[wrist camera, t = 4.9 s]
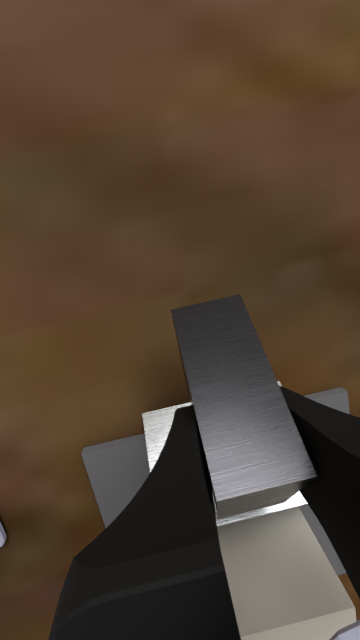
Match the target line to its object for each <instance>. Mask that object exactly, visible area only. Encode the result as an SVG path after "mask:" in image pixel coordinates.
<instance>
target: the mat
mask: <svg viewBox="0 0 360 640" xmlns="http://www.w3.org/2000/svg"><path fill="white" fill-rule="evenodd" d="M304 397H306V398H309V399H311V400H313V401H316V402H318V403H320V404H323V405H325V406H328V407H330V408H333V409H336V410H338V411H341V412H344V413H347V414H349V402H348V391H347V390H345V389H344V388H343V387H339V388H335V389H331V390H326V391H322V392H318V393H314V394H309V395H305V396H304ZM81 455H82V458H83V461H84V464H85V467H86V470H87V473H88V476H89V479H90V482H91V485H92V488H93V491H94V494H95V497H96V500H97V503H98V506H99V509H100V513H101V516H102V519H103V522H104V525H105V528H107V527H108V526H109V525H110V524H111V523H112V522H113V521H114V520H115V519H116V517H117V516H118V515H119V514H120V513H121V512H122V511H123V510H124V508H125V507H126V506H127V505H128V504H129V503H130V501H131V500H132V499H133V497H134V496H135V495H136V493H137V492H138V491H139V489H140V488H141V486H142V485H143V483H144V482H145V480H146V479H147V477H148V475H149V474H150V468H149V461H148V453H147V446H146V438H145V433H143V434H139V435H135V436H131V437H126V438H122V439H118V440H114V441H109V442H105V443H101V444H97V445H92V446H88V447H84V448H83V450H82V453H81ZM299 508H300V510H301V512H302V514H303V515H304V517H305V519H306V521H307V523H308V524H309V526H310V528H311V530H312V531H313V533H314V535H315V537H316V539H317V540H318V542H319V544H320V546H321V548H322V549H323V551H324V553H325V555H326V556H327V558H328V560H329V562H330V564H331V565H332V567H333V569H334V571H335V573H336V574H337V575H341V574H345V573H346V571H345V569H344V567H343V565H342V563H341V561H340V559H339V557H338V555H337V553H336V552H335V550H334V548H333V546H332V544H331V542H330V540H329V538H328V536H327V535H326V533H325V531H324V529H323V527H322V526H321V524H320V522H319V521H318V519H317V517H316V516H315V514H314V513H313V511H312V510H311V508H310V507H309V505H307V506H303V507H299Z"/></svg>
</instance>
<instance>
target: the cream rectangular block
mask: <svg viewBox="0 0 360 640" xmlns="http://www.w3.org/2000/svg"><path fill="white" fill-rule="evenodd" d="M217 529H218V536H219V543H220V549H221V554H222V558H223V562H224V567H225V571H226V576H227V580H228V585H229V589H230V593H231V598H232V602H233V607H234V611H235V616H236V620H237V624H238V629H239V633H240V638H241V640H330V639H331V637H332V636H333V635H334V634H335V633H336V632H337V631H338V630H340V629H342V628H344V627H346V626H348V625H350V624H352V623H354V622H356V613H355V606H354V605H353V603H352V601H351V599H350V597H349V596H348V594H347V592H346V590H345V589H344V587H343V585H342V583H341V581H340V580H339V578H338V576H337V574H336V573H335V571H334V569H333V567H332V565H331V564H330V562H329V560H328V558H327V556H326V555H325V553H324V551H323V549H322V548H321V546H320V544H319V542H318V540H317V539H316V537H315V535H314V533H313V531H312V530H311V528H310V526H309V524H308V523H307V521H306V519H305V517H304V515H303V514H302V512H301V510H300V508H295V509H291V510H287V511H283V512H279V513H275V514H271V515H267V516H263V517H259V518H255V519H251V520H247V521H243V522H239V523H235V524H231V525H227V526H223V527H219V528H217Z"/></svg>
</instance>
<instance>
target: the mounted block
mask: <svg viewBox="0 0 360 640" xmlns="http://www.w3.org/2000/svg"><path fill="white" fill-rule="evenodd" d="M171 313H172V318H173V322H174V327H175V332H176V337H177V342H178V347H179V352H180V357H181V361H182V366H183V371H184V376H185V380H186V384H187V389H188V393H189V397H190V402H189V403H184V404H180V405H176V406H172V407H167V408H163V409H159V410H155V411H150V412H146V413H142V416H143V423H144V431H145V438H146V446H147V453H148V461H149V468H150V472H151V470H152V469H153V467H154V465H155V463H156V461H157V459H158V457H159V455H160V453H161V451H162V449H163V447H164V444H165V442H166V439H167V437H168V434H169V431H170V428H171V425H172V422H173V418H174V412H175V411H176V409H177V408H182V407H186V406H190V405H193V409H194V412H195V416H196V420H197V424H198V429H199V433H200V438H201V443H202V447H203V452H204V456H205V461H206V465H207V470H208V474H209V479H210V483H211V488H212V494H213V501H214V508H215V515H216V522H217V528H219V527H223V526H227V525H231V524H235V523H239V522H243V521H247V520H251V519H255V518H259V517H263V516H267V515H271V514H275V513H279V512H283V511H287V510H291V509H295V508H299V507H303V506H307V505H308V504H307V502H306V500H305V499H304V497H303V496H302V494H301V493H300V490H301V489H302V488H303V487H305V486H306V485H307V484H309V483H310V482H311V481H312V480H314V479H315V478H316V477H317V474H316V472H315V470H314V467H313V465H312V462H311V460H310V458H309V455H308V453H307V451H306V448H305V446H304V444H303V441H302V439H301V437H300V434H299V432H298V430H297V427H296V425H295V423H294V420H293V418H292V415H291V413H290V411H289V408H288V406H287V404H286V401H285V399H284V397H283V394H282V392H281V390H280V387H279V386H281V384H280V381H278V382H277V380H276V378H275V375H274V373H273V371H272V368H271V366H270V364H269V361H268V359H267V357H266V354H265V352H264V350H263V347H262V345H261V343H260V340H259V338H258V335H257V333H256V331H255V328H254V326H253V324H252V321H251V319H250V317H249V314H248V312H247V310H246V307H245V305H244V303H243V300H242V298H241V296H240V294H239V295H235V296H230V297H226V298H222V299H217V300H213V301H208V302H204V303H199V304H195V305H190V306H186V307H182V308H177V309H173V310H171Z"/></svg>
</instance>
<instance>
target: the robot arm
mask: <svg viewBox="0 0 360 640" xmlns="http://www.w3.org/2000/svg"><path fill="white" fill-rule="evenodd" d="M279 387H280V390H281V392H282V394H283V397H284V399H285V401H286V404H287V406H288V408H289V411H290V413H291V415H292V418H293V420H294V423H295V425H296V427H297V430H298V432H299V434H300V437H301V439H302V441H303V444H304V446H305V448H306V451H307V453H308V455H309V458H310V460H311V462H312V465H313V467H314V470H315V472H316V474H317V477H316V478H315V479H314V480H312V481H311V482H310V483H309V484H307V485H306V486H305V487H303V488H302V489H301V490H300V493H301V494H302V496H303V497H304V499H305V500H306V502H307V504H308V505H309V507H310V508H311V510H312V511H313V513H314V514H315V516H316V517H317V519H318V521H319V522H320V524H321V526H322V527H323V529H324V531H325V533H326V535H327V536H328V538H329V540H330V542H331V544H332V546H333V548H334V550H335V552H336V553H337V555H338V557H339V559H340V561H341V563H342V565H343V567H344V569H345V571H346V573H347V575H348V577H349V579H350V581H351V583H352V585H353V587H354V589H355V591H356V593H357V594H358V596H359V598H360V418H359V417H356V416H353V415H350V414H347V413H344V412H341V411H338V410H336V409H333V408H330V407H328V406H325V405H323V404H320V403H318V402H316V401H313V400H311V399H309V398H306V397H304V396H302V395H300V394H298V393H295V392H293V391H291V390H289V389H286V388H284V387H282V386H279ZM6 538H7V537H6V533H5V531H4V529H3V526H2V524H1V522H0V547H2V546H3V545H4V543H5V541H6ZM49 640H241V638H240V633H239V629H238V624H237V620H236V616H235V611H234V607H233V602H232V598H231V593H230V589H229V585H228V580H227V576H226V571H225V567H224V562H223V558H222V554H221V549H220V543H219V536H218V529H217V522H216V515H215V508H214V501H213V494H212V488H211V483H210V479H209V474H208V470H207V465H206V461H205V456H204V452H203V447H202V443H201V438H200V433H199V429H198V424H197V420H196V416H195V412H194V409H193V405H190V406H186V407H182V408H177V409H176V411H175V412H174V418H173V422H172V425H171V428H170V431H169V434H168V437H167V439H166V442H165V444H164V447H163V449H162V451H161V453H160V455H159V457H158V459H157V461H156V463H155V465H154V467H153V469H152V470H151V472H150V474H149V475H148V477H147V479H146V480H145V482H144V483H143V485H142V486H141V488H140V489H139V491H138V492H137V493H136V495H135V496H134V497H133V499H132V500H131V501H130V503H129V504H128V505H127V506H126V507H125V508H124V510H123V511H122V512H121V513H120V514H119V515H118V516H117V517H116V519H115V520H114V521H113V522H112V523H111V524H110V525H109V526H108V527H107V528H106V529H105V530H104V531H103V532H102V533H101V534H100V535H99V536H98V537H96V538H95V539H94V540H93V541H92V542H91V543H90V544H89V545H88V546H87V547H86V548H84V549H83V550H82V551H81V552H80V553H79V554H78V555H76V556H75V557H74V558H73V561H72V563H71V566H70V569H69V572H68V575H67V577H66V580H65V582H64V585H63V588H62V591H61V594H60V597H59V601H58V605H57V609H56V613H55V616H54V620H53V624H52V628H51V632H50V636H49ZM330 640H360V620H359V621H356V622H354V623H352V624H350V625H348V626H346V627H344V628H342V629H340V630H338V631H337V632H336V633H335V634H334V635H333V636H332V637H331V639H330Z"/></svg>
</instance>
